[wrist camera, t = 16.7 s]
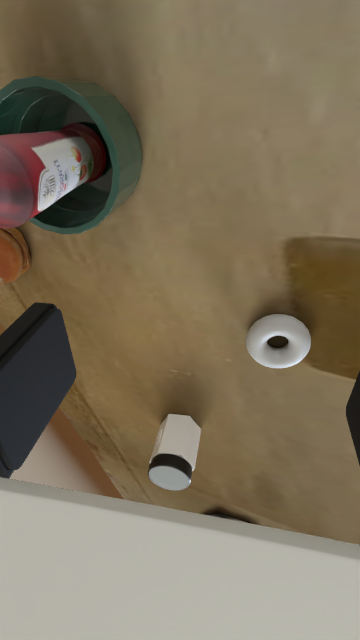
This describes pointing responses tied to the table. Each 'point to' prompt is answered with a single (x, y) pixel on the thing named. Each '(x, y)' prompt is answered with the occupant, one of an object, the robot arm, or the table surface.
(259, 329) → the donut
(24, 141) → the liquor
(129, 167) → the ice bucket
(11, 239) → the burger
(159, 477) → the jar
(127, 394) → the table surface
